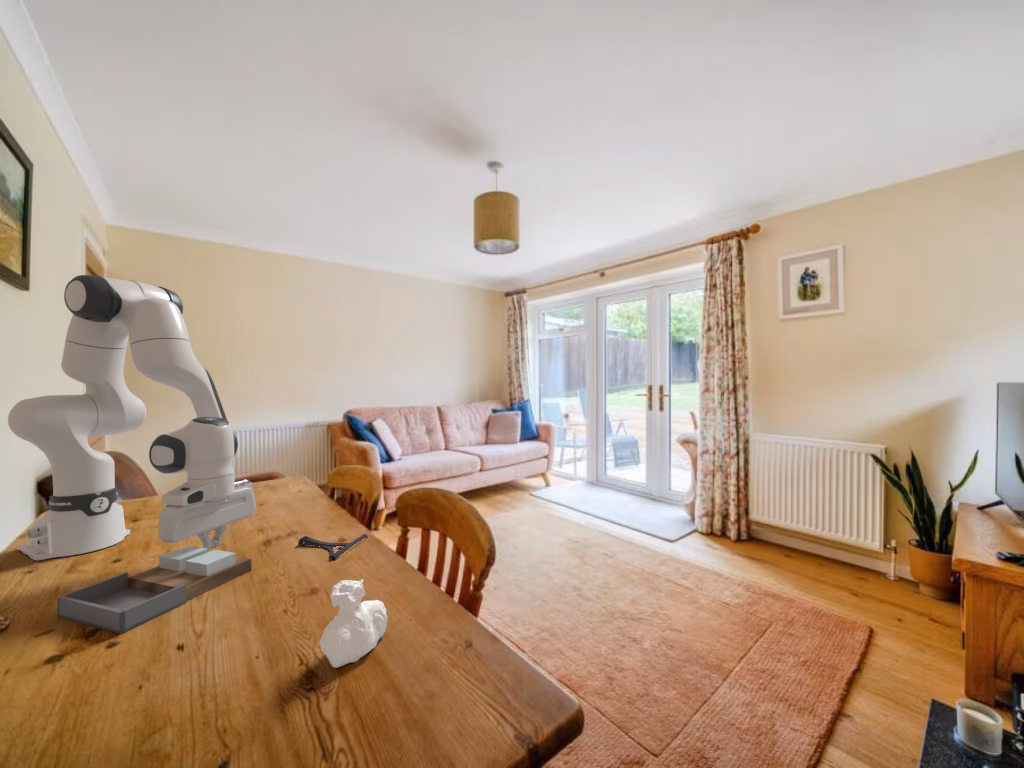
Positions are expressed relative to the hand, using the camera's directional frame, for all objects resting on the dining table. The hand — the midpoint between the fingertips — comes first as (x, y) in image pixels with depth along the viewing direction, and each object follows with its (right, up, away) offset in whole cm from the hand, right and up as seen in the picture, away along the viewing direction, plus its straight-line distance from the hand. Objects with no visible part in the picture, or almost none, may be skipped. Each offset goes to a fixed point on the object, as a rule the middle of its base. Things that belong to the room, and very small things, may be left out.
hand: (212, 547), depth 95 cm
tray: (-2, -4, -20) cm, 20 cm away
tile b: (+6, -1, -8) cm, 10 cm away
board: (+2, -4, -8) cm, 9 cm away
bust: (+44, -4, -31) cm, 55 cm away
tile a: (-2, -1, -6) cm, 6 cm away
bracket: (+22, -4, +9) cm, 24 cm away
